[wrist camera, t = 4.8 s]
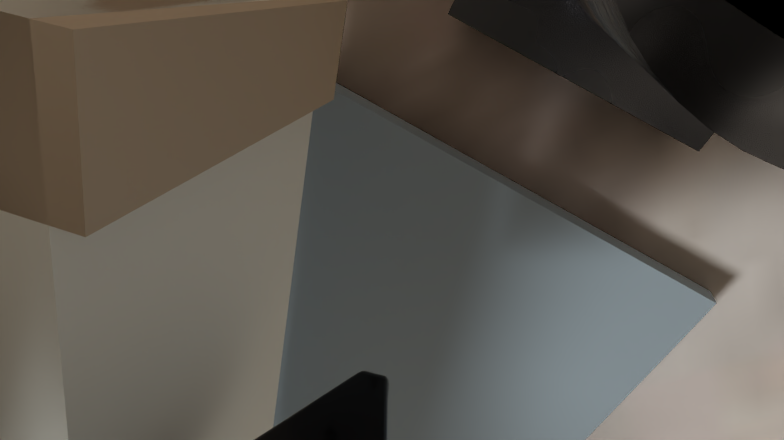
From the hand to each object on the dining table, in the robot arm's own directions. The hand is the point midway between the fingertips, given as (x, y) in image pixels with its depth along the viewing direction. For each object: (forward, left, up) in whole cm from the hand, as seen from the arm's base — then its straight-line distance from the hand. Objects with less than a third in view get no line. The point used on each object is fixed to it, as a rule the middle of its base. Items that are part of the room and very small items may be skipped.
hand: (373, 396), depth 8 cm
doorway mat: (-2, +1, -3) cm, 4 cm away
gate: (-3, +2, -2) cm, 4 cm away
